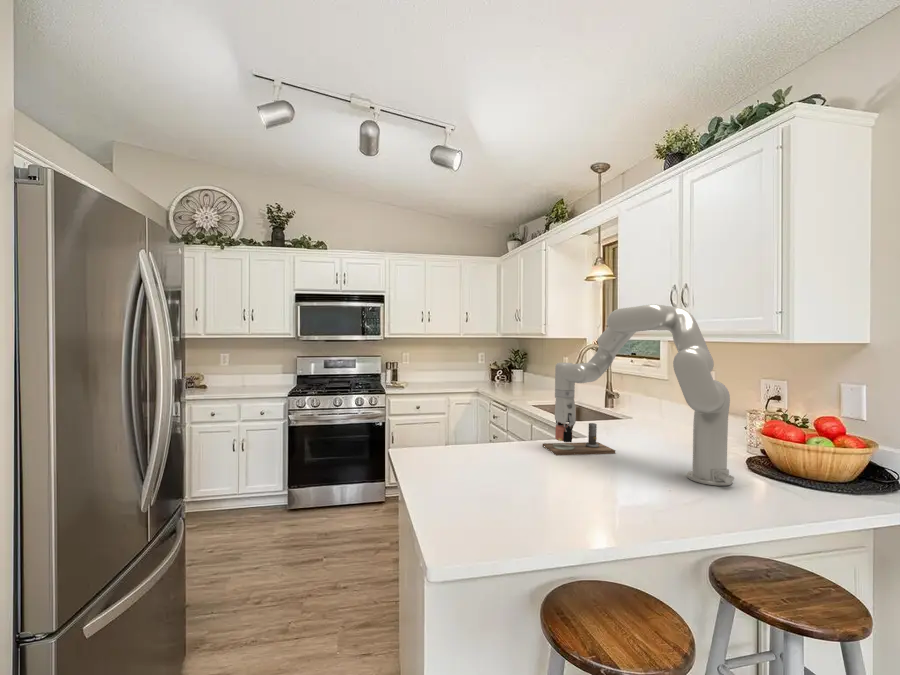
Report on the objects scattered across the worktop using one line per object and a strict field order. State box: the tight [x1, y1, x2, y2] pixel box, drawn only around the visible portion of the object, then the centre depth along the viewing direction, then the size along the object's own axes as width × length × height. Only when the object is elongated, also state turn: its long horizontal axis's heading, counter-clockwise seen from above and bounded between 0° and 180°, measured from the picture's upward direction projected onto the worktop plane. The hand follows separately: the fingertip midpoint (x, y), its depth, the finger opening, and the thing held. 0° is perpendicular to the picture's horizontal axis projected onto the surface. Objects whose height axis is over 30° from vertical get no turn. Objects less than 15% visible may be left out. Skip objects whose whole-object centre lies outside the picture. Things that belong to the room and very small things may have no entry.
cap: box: [554, 424, 568, 442], centre depth 182 cm, size 8×6×5 cm
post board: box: [542, 422, 616, 456], centre depth 183 cm, size 14×24×10 cm, turn 100°
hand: (563, 439), depth 182 cm, fingers closed on cap, 6 cm apart
